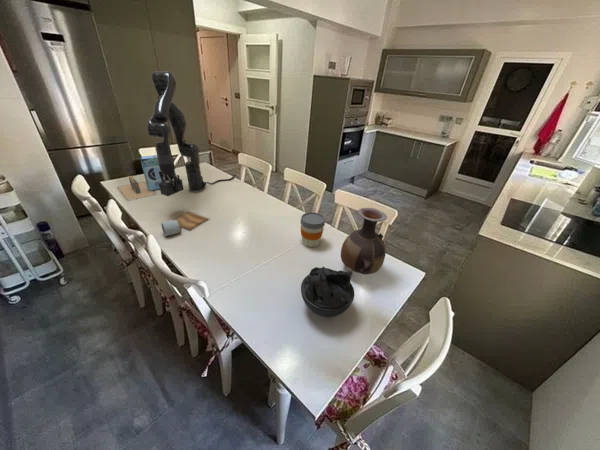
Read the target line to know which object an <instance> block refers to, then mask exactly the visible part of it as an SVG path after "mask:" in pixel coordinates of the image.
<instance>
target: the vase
mask: <svg viewBox="0 0 600 450" xmlns="http://www.w3.org/2000/svg"><path fill="white" fill-rule="evenodd" d="M357 214H358V216H359V217H361V218H362V219H363V223H362V227H361V228H360V229H355V230H353V231H352V232H350V233H349V234H348V235H347V236H346V238H345V240H344V241H343V243H342V245H341V249H340V260H341V262H342V264H343V265H344V266H345V267H346V268H348V269H349V270H350V271H352V272H355V273H358V274H361V275H372V274H376V273H378V272H379V271H380V270H381V268H382V266H383V265H384V263H385V258H386V245H385V242H384V240H383V238H384V235H383V234H382V233H377V232H376V227H377V224H378V222H383V221H386V220H387V218H388V217H387V214H386V213H384V211H382V210H380V209H377V208H373V207H362V208H359V209H358V210H357Z"/></svg>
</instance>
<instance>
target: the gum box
mask: <svg viewBox="0 0 600 450" xmlns="http://www.w3.org/2000/svg"><path fill="white" fill-rule="evenodd" d="M139 160H140V164H141V167H142V171H143V176H144V179H145V184H146V185H147V188H148V189H149V190H150V191H151V190H152V191H155V190H156V191H157V190H160V187H159V183H161V182H162V180H161V177H160V175H159V171H161V170H160V167H159V163H158V159H157V154H155V155H154V154H153V155H146V156H139ZM174 173H175V175H177V173H176V169H175V170H174ZM163 179H164V177H163Z"/></svg>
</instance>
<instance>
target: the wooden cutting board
mask: <svg viewBox="0 0 600 450" xmlns="http://www.w3.org/2000/svg"><path fill="white" fill-rule="evenodd" d="M172 220H178V221H179V223H180V226H181V229H185V230H187V231H191V230H193V229H195V228H196V227H198V226H200V225H202V224H203V223H205V222H206V221H208V220H209V218H207V217H204V216H202V215H199V214H196V213H194V212H190V211H186V212H185V213H183V214H181V215H179V216H177V217H175V218H173V219H172Z"/></svg>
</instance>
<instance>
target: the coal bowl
mask: <svg viewBox="0 0 600 450" xmlns="http://www.w3.org/2000/svg"><path fill="white" fill-rule="evenodd" d="M352 277H353V271H352V270H350V271H344V270H334V269H332V268H328V267H325V266H322V267H317V266H316V267H313V268H312V269H311V270H310V272H309V274H307V275H306V276H305V277H304V278H303V280H302V282H301V284H300V293H301V298H302V300H303V302H304V305H305V306H306V307H307V308H308V309H309V310H310V311H311V312H312V313H314V314H315V315H317V316H320V317H325V318H333V317H337V316H339V315H342V314H344V313H345V312H346V311H347V310H348V309H350V307H351V305H352V304H353V302H354V299H355V289H354V288H355V287H354V286H353V284H352V282H351V280H352Z"/></svg>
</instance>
